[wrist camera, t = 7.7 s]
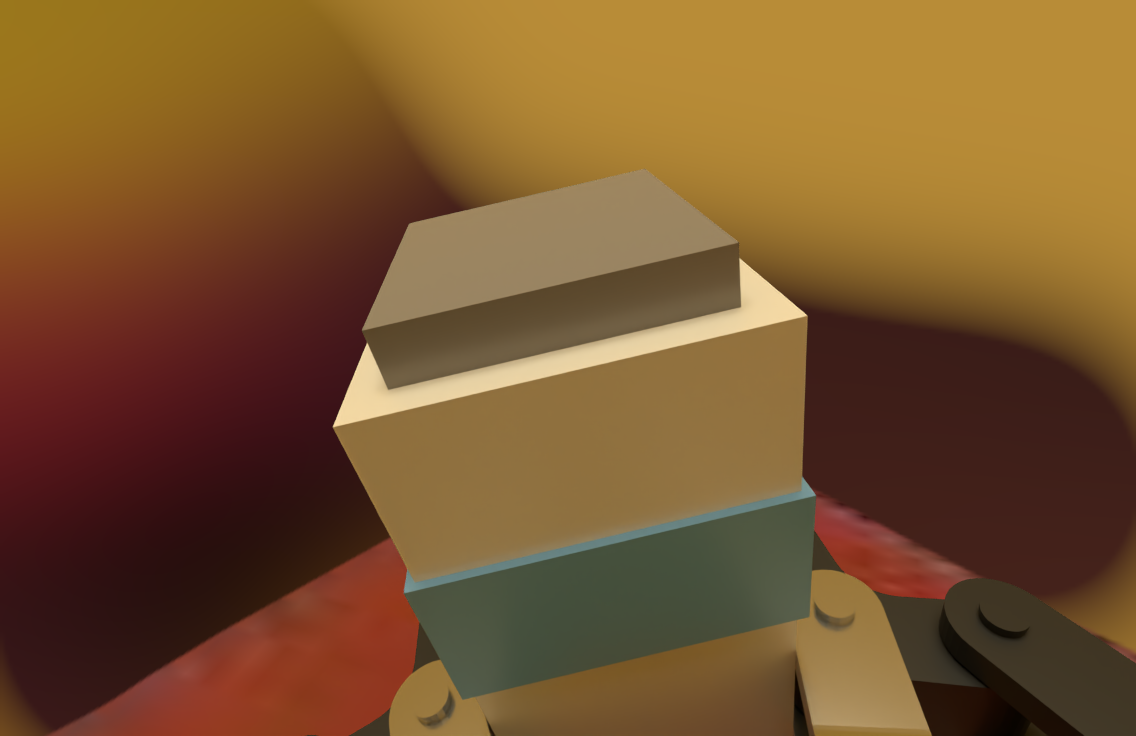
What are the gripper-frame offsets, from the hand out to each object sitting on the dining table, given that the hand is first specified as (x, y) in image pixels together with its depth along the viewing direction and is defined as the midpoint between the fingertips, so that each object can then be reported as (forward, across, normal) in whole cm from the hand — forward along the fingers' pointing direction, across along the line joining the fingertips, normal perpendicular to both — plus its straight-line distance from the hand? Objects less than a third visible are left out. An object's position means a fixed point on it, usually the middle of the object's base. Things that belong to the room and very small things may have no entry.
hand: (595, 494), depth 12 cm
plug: (-3, 0, +8) cm, 8 cm away
